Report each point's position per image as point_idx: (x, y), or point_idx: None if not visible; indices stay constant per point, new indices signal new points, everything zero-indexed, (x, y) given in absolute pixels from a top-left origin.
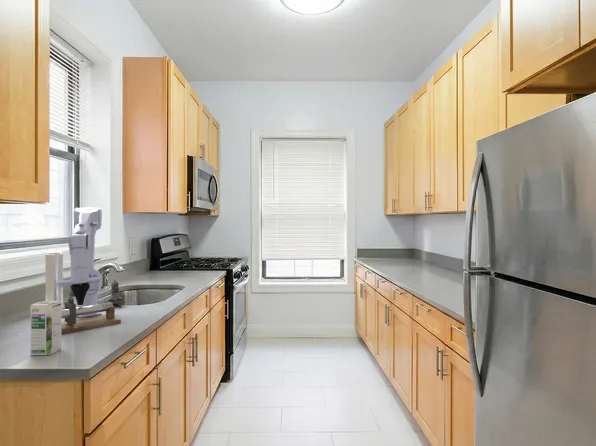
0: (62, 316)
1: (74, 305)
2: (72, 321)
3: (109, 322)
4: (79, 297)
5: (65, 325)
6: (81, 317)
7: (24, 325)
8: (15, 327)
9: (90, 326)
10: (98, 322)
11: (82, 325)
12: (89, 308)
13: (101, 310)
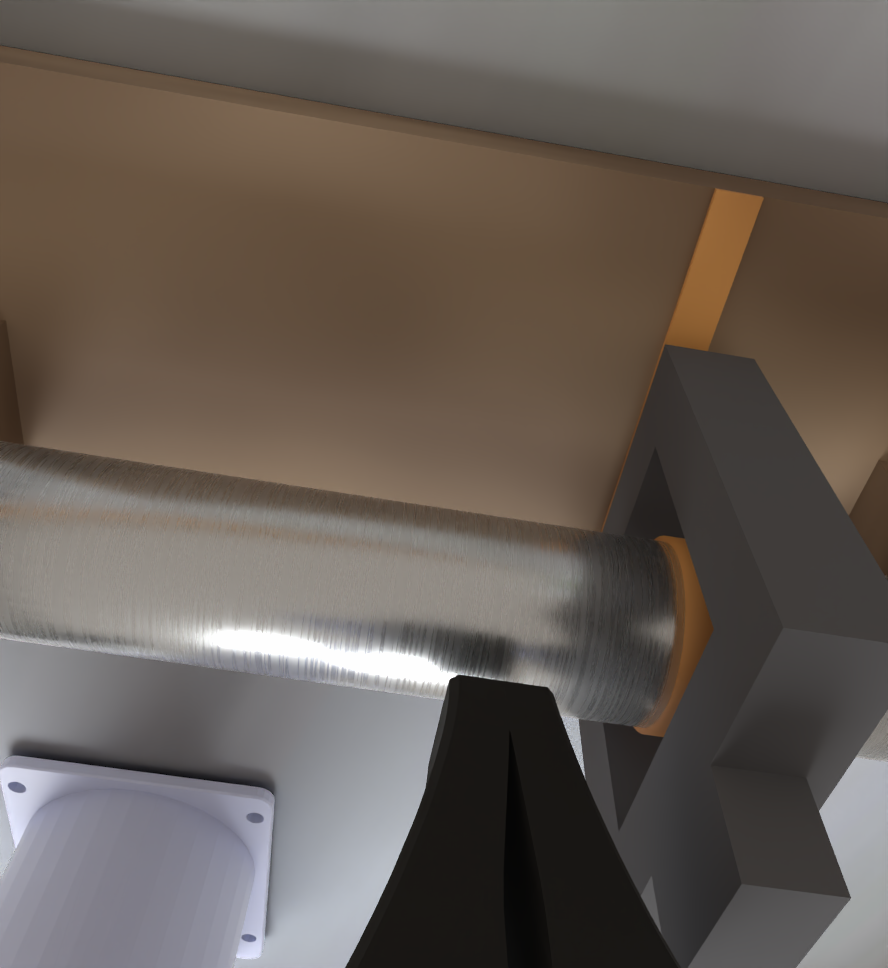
0: None
1: (811, 604)
2: (740, 385)
3: (74, 71)
4: (585, 872)
5: None
6: (257, 787)
7: None
8: (874, 921)
9: (470, 140)
10: (259, 230)
11: (564, 275)
12: (321, 551)
13: (71, 452)
